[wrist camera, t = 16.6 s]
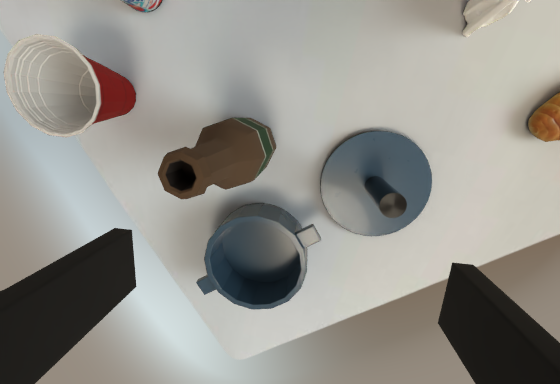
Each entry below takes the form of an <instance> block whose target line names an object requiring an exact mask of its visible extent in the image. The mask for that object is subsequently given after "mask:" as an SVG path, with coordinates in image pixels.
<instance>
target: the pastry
mask: <svg viewBox="0 0 560 384" xmlns="http://www.w3.org/2000/svg"><path fill="white" fill-rule="evenodd" d="M528 126H529V130H530V132H531V133H532V134H533V135H534V136H536V137H537V138H538V139H541V140H543V141H545V142H548V141H554V140H560V92H559V93H558V94H556V95H555V96H553V97H552V98H551V99H550V100H548V101H547V102H545V103H544V104H543V105H542V106H540V107H539V108H538V109H537V110H536V111H535V112H534V114H533V115H532V116H531V117H530V119H529V122H528Z"/></svg>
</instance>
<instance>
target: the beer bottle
mask: <svg viewBox="0 0 560 384" xmlns="http://www.w3.org/2000/svg"><path fill="white" fill-rule="evenodd" d="M275 149H276V145H275V142H274V138H273V135H272V132H271V129H270V128H269V127H267V126H265V125H263V124H262V123H260V122H258V121H256V120H254V119H252V118H230V119H227V120H224V121H222V122H219V123H216V124H213V125H210V126H207V127H205V128H203V129H202V131H201V134H200V136H199V139H198V141H197V144H196V146H195V147H194V148H191V149H189V148H187V147H184V148H181V149H178V150H175V151H172V152H169V153H167V154H166V155H165V157H164V158H163V161H162V163H161V166H160V169H159V171H158V176H159V178H160V180H161V183H162V185H163V187H164V190H165V191H167V192H169V193H170V194H172V195H174V196H176V197H178V198H180V199H188V198H191V197H194V196H198V195H201V194H204V193H205V191H206V188H207V187H208V186H210V185H212V184H215V185H217V186H219V187H221V188H223V189H229V188H233V187H236V186H239V185H243V184H246V183H249V182H251V181H253V180H255V178H256V177H257V176H258V175H259V174H260V173H261V172H262V171H263V170H264V169H265V168H266V167H267V165H268V163H269V161H270V159H271V157H272V155H273V153H274V151H275Z"/></svg>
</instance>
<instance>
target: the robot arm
mask: <svg viewBox="0 0 560 384" xmlns="http://www.w3.org/2000/svg"><path fill="white" fill-rule="evenodd" d="M135 287H136V279H135V266H134V253H133V241H132V230H126V229H118V228H114V229H113V230H111V231H109V232H107V233H105V234H104V235H102V236H100V237H98V238H96V239H95V240H93V241H91V242H89V243H87V244H86V245H84V246H82V247H80V248H78V249H77V250H75V251H73V252H71V253H70V254H68V255H66V256H64V257H62V258H60V259H59V260H57V261H55V262H53V263H52V264H50V265H48V266H46V267H44V268H43V269H41V270H39V271H37V272H35V273H34V274H32V275H30V276H28V277H26V278H25V279H23V280H21V281H19V282H17V283H16V284H14V285H12V286H10V287H9V288H7V289H5V290H2V291H0V384H35V383H36V382H37V381H38V380H39V379H40V378H41V377H42V376H43V375H44V374H45V373H46V372H47V371H49V369H50V368H52V367H53V366H54V365H55V364H56V363H57V362H58V361H59V360H60V359H61V358H62V357H63V356H64V355H65V354H66V353H67V352H68V351H69V350H70V349H71V348H73V346H74V345H76V344H77V343H78V342H79V341H80V340H81V339H82V338H83V337H84V336H85V335H86V334H87V333H88V332H89V331H90V330H91V329H92V328H93V327H94V326H96V325H97V324H98V323H99V322H100V321H101V320H102V319H103V318H104V317H105V316H106V315H107V314H108V313H109V312H110V311H111V310H112V309H113V308H114V307H115V306H116V305H117V304H118V303H120V302H121V300H123V299H124V298H125V297H126V296H127V295H128V294H129V293H130V292H131V291H132V290H133V289H134V288H135ZM438 324H439V325H440V327H441V329H442V330H443V332H444V334H445V335H446V337H447V338H448V340H449V342H450V343H451V345H452V346H453V348H454V350H455V351H456V353H457V354H458V356H459V358H460V359H461V361H462V363H463V364H464V366H465V367H466V369H467V371H468V372H469V374H470V376H471V377H472V379H473V380H474V382H475V383H476V384H560V343H559V342H558V341H557V340H556V339H555V338H554V337H552V336H551V335H550V334H549V333H548V332H547V331H546V330H545V329H543V327H541V326H540V325H539V324H538V323H537V322H536V321H535V320H534V319H532V318H531V317H530V316H529V315H528V314H527V313H526V312H525V311H524V310H523V309H521V308H520V307H519V306H518V305H517V304H516V303H515V302H514V301H513V300H512V299H510V298H509V297H508V296H507V295H506V294H505V293H504V292H503V291H501V290H500V289H499V288H498V287H497V286H496V285H495V284H494V283H493V282H492V281H490V280H489V279H488V278H487V277H486V276H485V275H484V274H483V273H482V272H481V271H479V270H478V269H477V268H476V267H475V266H474V265H470V264H460V263H452V266H451V271H450V275H449V279H448V283H447V287H446V292H445V296H444V300H443V304H442V309H441V312H440V316H439V321H438Z"/></svg>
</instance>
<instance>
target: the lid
mask: <svg viewBox="0 0 560 384" xmlns="http://www.w3.org/2000/svg"><path fill="white" fill-rule="evenodd" d="M320 185H321V196H322V200H323V203H324V206H325V208H326V210H327V211H328V213H329V215H330V216H331V217H332V218H333V219H334V221H336V222H337V223H338V224H339V225H340V226H342V227H343V228H345V229H347V230H349V231H351V232H353V233H356V234H360V235H365V236H381V235H386V234H390V233H393V232H396V231H398V230H400V229H402V228H404V227H406V226H407V225H409V224H410V223H411V222H412V221H413V220H415V219H416V218H417V216H418V215H419V214H420V213H421V212H422V210H423V209H424V207H425V205H426V203H427V201H428V199H429V196H430V192H431V187H432V174H431V169H430V166H429V163H428V160H427V158H426V157H425V155H424V153H423V152H422V151H421V149H420V148H419V147H418V146H417V145H416V144H415V143H413V142H412V141H411V140H409V139H407V138H406V137H404V136H402V135H399V134H396V133H392V132H387V131H371V132H365V133H362V134H359V135H356V136H354V137H352V138H350V139H348V140H346V141H345V142H343V143H342V144H341V145H340V146H339V147H337V149H336V150H335V151H334V152H333V153H332V154H331V156H330V157H329V159H328V160H327V162H326V164H325V166H324V169H323V172H322V176H321V184H320Z"/></svg>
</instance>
